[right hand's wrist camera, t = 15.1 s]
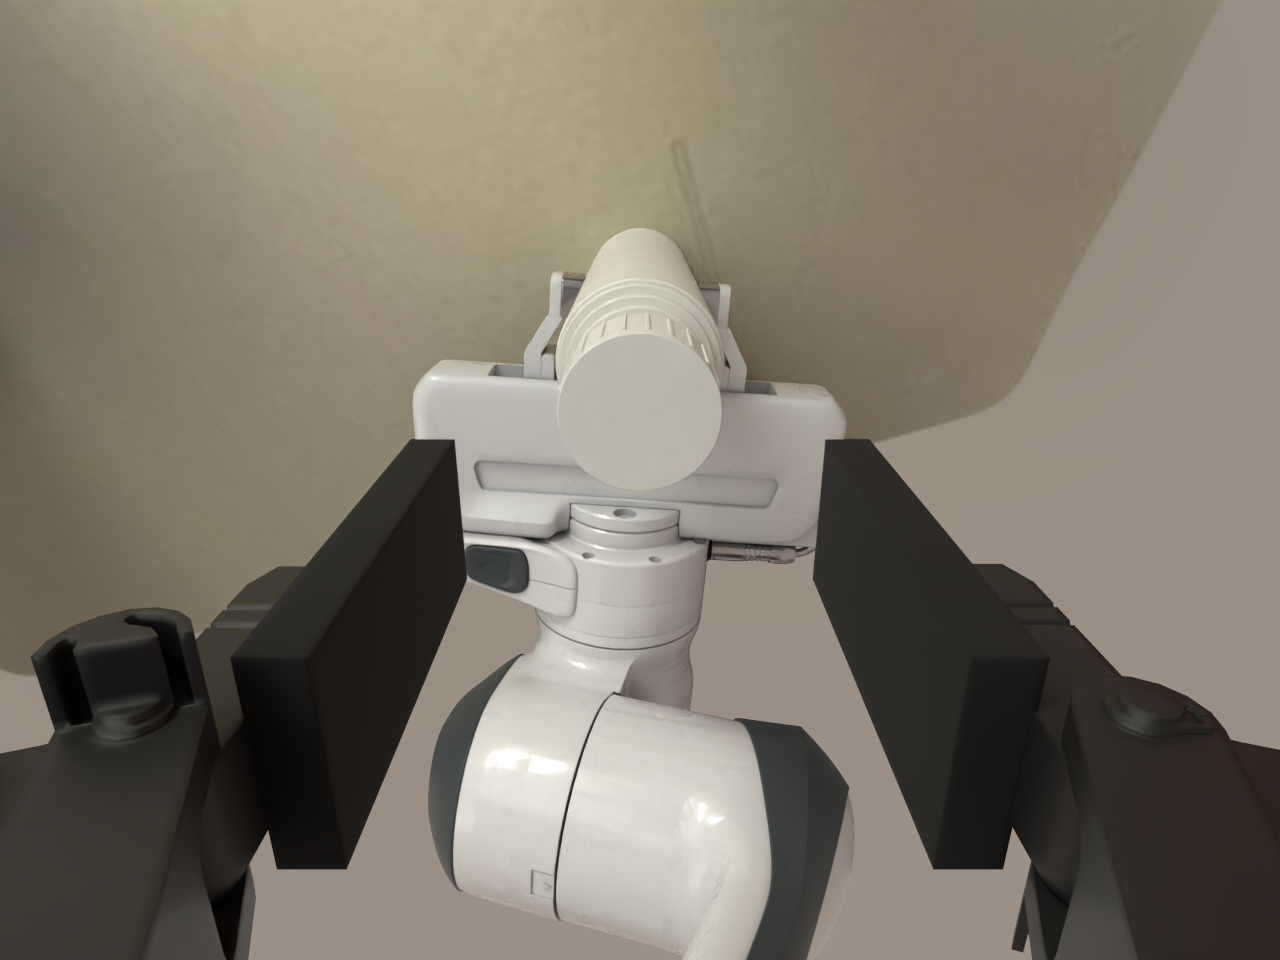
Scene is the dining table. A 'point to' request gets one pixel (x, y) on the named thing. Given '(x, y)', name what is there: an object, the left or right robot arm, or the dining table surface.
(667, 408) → the cap
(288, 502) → the dining table surface
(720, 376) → the bottle
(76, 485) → the dining table surface
